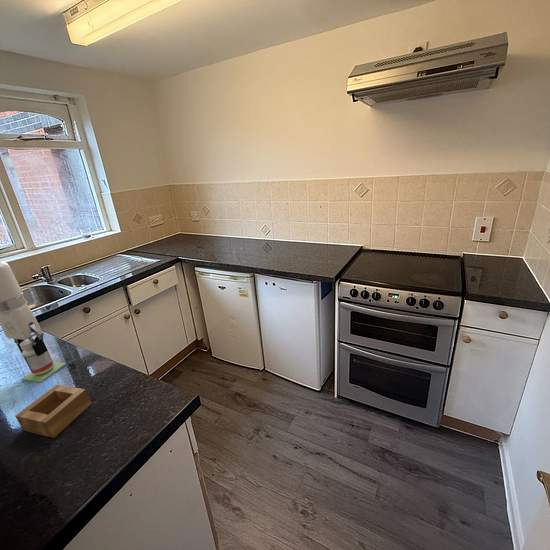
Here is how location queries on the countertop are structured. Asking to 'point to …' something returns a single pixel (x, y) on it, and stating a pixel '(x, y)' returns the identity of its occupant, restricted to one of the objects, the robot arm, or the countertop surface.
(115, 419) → the countertop surface
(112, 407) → the countertop surface
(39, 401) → the box
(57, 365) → the mat
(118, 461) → the countertop surface
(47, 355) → the pill bottle
